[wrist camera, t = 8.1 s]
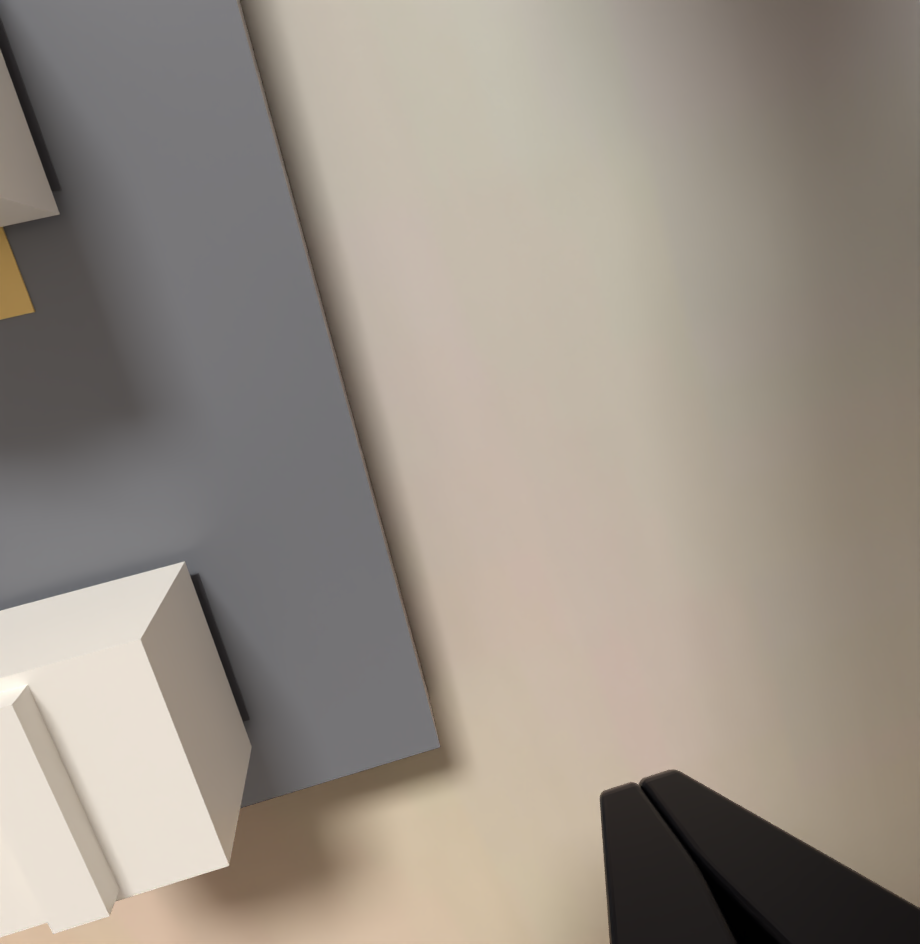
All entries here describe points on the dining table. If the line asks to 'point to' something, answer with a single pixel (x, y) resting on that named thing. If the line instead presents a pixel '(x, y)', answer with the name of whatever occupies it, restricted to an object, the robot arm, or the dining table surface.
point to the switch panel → (192, 383)
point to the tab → (112, 749)
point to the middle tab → (19, 163)
